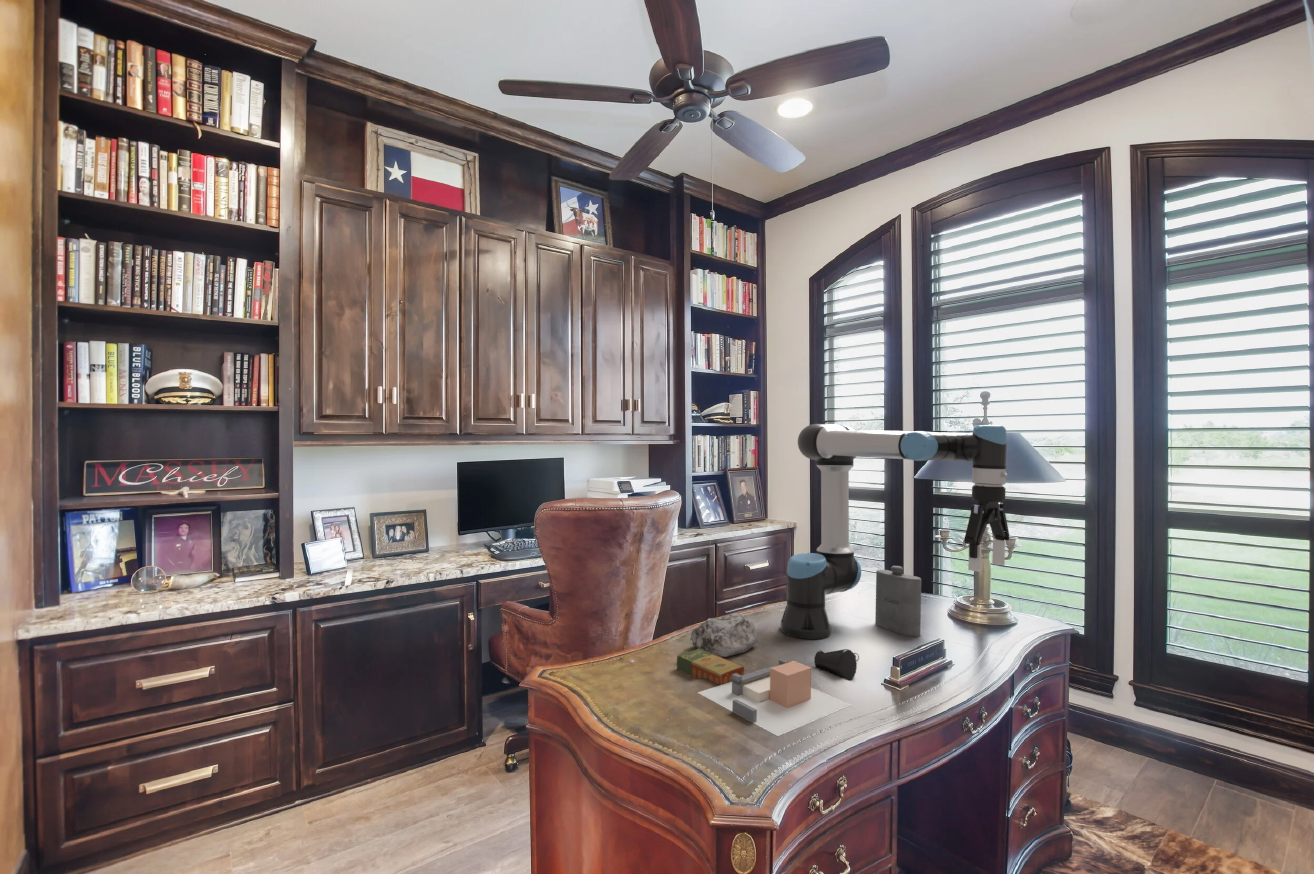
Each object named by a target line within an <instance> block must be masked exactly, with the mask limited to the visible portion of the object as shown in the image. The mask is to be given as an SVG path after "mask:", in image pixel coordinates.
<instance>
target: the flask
mask: <svg viewBox="0 0 1314 874" xmlns="http://www.w3.org/2000/svg"><path fill="white" fill-rule="evenodd" d="M890 569H891V570H888V569H877V570H876V573H875V575H876V576H875V577H876V578H875V579H876V580H875V617H874V618H875V620H874V621H875V622H874V623H875V625H876V626H878V627H879V628H880V629H881V628H882V629H884V630H886V631H890V632H893V633H897V634H901V635H904V636H908V637H919V636H920V635H921V623H922V622H921V618H922V617H921V616H922V615H921V614H922V578H921V577H919V576H915V575H911V574H904V567H903V566H900V565H892V566H891V567H890Z"/></svg>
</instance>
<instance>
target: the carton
mask: <svg viewBox="0 0 1314 874" xmlns="http://www.w3.org/2000/svg"><path fill="white" fill-rule="evenodd" d="M676 670H678V671H680V672H681V673H684V674H686V675H689V676H690V677H692V678H695V679H696V680H700V679H703V678H704V679H706V680H709V681H711V682H713V683H715V684H718V686H720V685H723V684H726V683H729V682H732V674H735V673H737V674H739V675H741V676H742V675H745V667H744V666H743V665H741V664H739V663H736V662H733V661H731V660H728V659H726V658H725V657H722V658H721V657H719V656H717V655H714V654H712V653H709V652H707V651H704V650H702V649H698V648H697V649H694V650H691V651H688V652H684V653H681V654H678V655H677V656H676Z"/></svg>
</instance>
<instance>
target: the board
mask: <svg viewBox="0 0 1314 874" xmlns="http://www.w3.org/2000/svg"><path fill="white" fill-rule="evenodd" d="M788 662H790V661H788V660H785V659H783V658H780V659H778V664H775V665H772V666H768V667H765V668H761V669H759V670H755V671H752V672H749V673H746V674H745V673H744V675H742V676H741V675H739V674H737V673H735V674H732V682H729V683H726V684H723V685H718V686H714V687H710V688H707V689H704V690H701V691H698V692H697V694H699V695H701V696H703V697H704V698H706V699H708V700H710V701H711V702H713V703H715V704H717V705H718V706H721V707H723V708H725V709H727V711H730V712H732V713H734V714H736V715H737V716H739V717H741V718H743V719H744V720H746V721H749V722H750V723H752V724H754V725H756V726H757V727H760V728H761V729H764V730H765V731H767V732H769V733H771V734H773V735H774V736H776V737H780V736H782V735H784V734H787V733H789V732H792V731H794V730H798V729H799V728H802V727H804V726H806V725H808V724H810V723H813V722H815V721H817V720H821V719H822V718H825V717H827V716H830V715H832V714H834V713H836V712H838V711H839V712H840V711H841V710H844V709H846V708H848V707H851V706H852V704H850V703H848V702H846V701H844V700H841V699H839V698H836V697H834V696H832V695H829V694H827V693H825V692H823V691H820V690H818V689H816V688H813V687H811V699H809V700H807V701H804V702H802V703H799V704H796V705H794V706H791V707H789V708H786V707H784V706H782V705H780V704H778V703H776V702H774V701H771V700H770V668H773V667H776V666H779V665H782V664H785V663H788Z"/></svg>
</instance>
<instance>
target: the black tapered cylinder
mask: <svg viewBox="0 0 1314 874" xmlns="http://www.w3.org/2000/svg"><path fill="white" fill-rule="evenodd" d="M856 655H857V656H856ZM859 660H860V656H859V654H858V653H856V652H853V651H852V650H851V649H849V648H845V649H838V650H834V651H833V650H832V651H828V652H827V651H826V652H825V651H824V650H821V649H820V650H817V651H816V653H815V655H814V660H813V661H814V667H815V668H816V669H818V670H821V671H826V672H827V673H829V674H831V675H833V676H836V677H838V678H840V679H843V680H846V681H852V680H853V678H854V677H855V675H856V673H857V668H858V667H857V666H858V665H857V662H858V661H859Z"/></svg>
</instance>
